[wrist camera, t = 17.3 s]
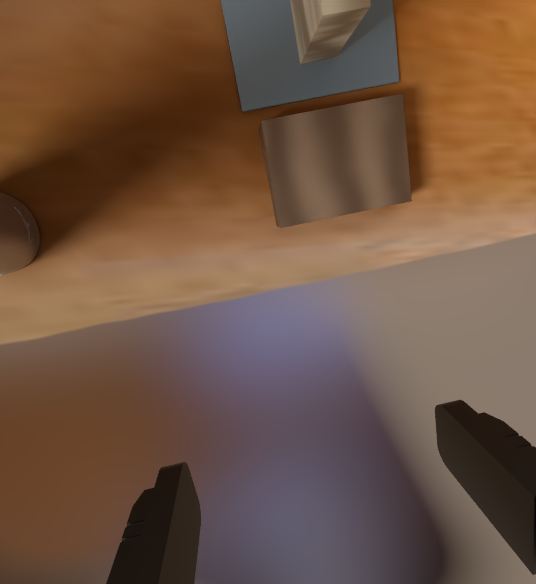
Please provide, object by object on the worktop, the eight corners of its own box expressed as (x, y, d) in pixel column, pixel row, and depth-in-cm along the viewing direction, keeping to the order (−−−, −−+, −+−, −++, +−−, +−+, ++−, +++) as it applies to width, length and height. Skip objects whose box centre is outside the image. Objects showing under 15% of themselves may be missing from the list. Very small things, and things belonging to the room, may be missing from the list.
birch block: (300, 64, 37) (322, 15, 28) (290, 0, 36) (310, -76, 26) (335, 57, 37) (370, 6, 28) (327, -8, 36) (361, -86, 26)
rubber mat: (242, 112, 38) (242, 111, 38) (215, -27, 35) (215, -30, 34) (397, 82, 39) (399, 81, 38) (386, -57, 35) (388, -60, 35)
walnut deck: (276, 225, 42) (281, 227, 38) (259, 128, 39) (261, 120, 35) (395, 201, 42) (411, 201, 38) (386, 104, 39) (403, 93, 35)
